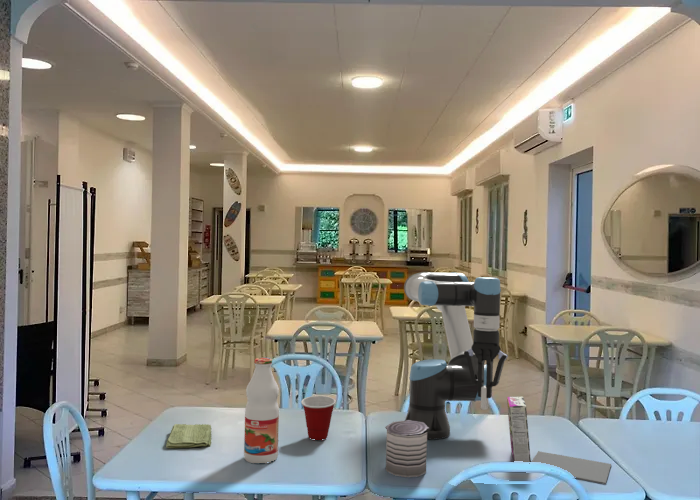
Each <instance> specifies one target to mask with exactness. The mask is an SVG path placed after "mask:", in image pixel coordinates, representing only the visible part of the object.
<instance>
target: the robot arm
mask: <svg viewBox="0 0 700 500" xmlns="http://www.w3.org/2000/svg"><path fill="white" fill-rule="evenodd" d="M403 290H404V293H405V295H406V297H407V298H408V299H410V300H411V301H414V302H419V304H420V305H422V306H429V307H432V306H433V307H434V306H435V307H436V308H437V310H438V311H440V312H441V316H442V320H443V325H444V330H445V335H446V342H447V345H448V351H449V354H450V359H449V360H448V363H447V362H446V360H445V359H438V358H437V359H436V358H432V359H424V360H423V359H422V360H418V361H416V362H413V364H411V367H410V371H409V399H408V400H409V405H408V410H407V413H406V415H405V419H404V421H405V420H412V421H418V422H424V423H425V424H426V425H427V426H428V427H429V428H428V429H427V440H441V439H445V438H448V437H449V436H450V435H451V426H450V422H449V420H448V415H447V412H446V402H447V401H448V402H479V401H480V409H481V410H484V411H486V410H488V409H489V399H491V398H492V397H493V395H492V394H493V387H496V386H498V385H499V383H500V379H501V377H502V373H503V368H504V364H505V361H507V359H508V358H509V355H508V354H507V353H505V352H503V351H501V347H500V331H499V329H500V324H501V323H500V314H501V311H500V310H501V307H500V306H501V292H502V288H501V280H500V278H497V277H487V276H485V277H484V276H479V277H476V278H475V279H474V281H469V279H468V276H466V275H465V274H464V273H462V272H456V271H451V272H438V271H437V272H436V271H435V272H434V271H433V272H432V271H421V272H418V273H414V274H412V275H409V277H408V278H406V280H405V282H404V285H403ZM466 307H473V328H474V329H473V334H472V333H471V328H470V325H469V324H470V323H469V319H468V315H467V311H466ZM472 336H473V337H472ZM497 356H498V357H497ZM496 357H497V359H498V361H497V364H496V365H497V366H496V369H495V373H494V370H493V369H494V360H495V359H496ZM485 362H486V364H485ZM493 374H494V375H493ZM493 376H494V377H493Z"/></svg>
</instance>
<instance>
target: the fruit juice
mask: <svg viewBox="0 0 700 500" xmlns="http://www.w3.org/2000/svg"><path fill="white" fill-rule="evenodd" d="M253 364H254V367H255V368H254V371H253V374H252V377H251V379H250V381H249V382H248V384H247V386H246V388H245V389H246V390H245V395H246V398H247V402H246V405H245V410H244V438H243V439H244V440H243V441H244V443H243V445H244V447H243V449H244V450H243V458H244V460H245V461H246V462H248V463H250V464H254V463H265V464H268V463H267V462H270V463H272V462H271V461H273V462H275V461H276V460H277V458H278V455H279V423H280V422H279V418H280V409H279V403H278V397H279V393H280V389H279V385H278V383H277V381H276V379H275V377H274V375H273V371H272V370H273V369H272V365H273V360H272V358H271V357H256V358H255V359H254V361H253ZM274 460H275V461H274Z"/></svg>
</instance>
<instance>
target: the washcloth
mask: <svg viewBox="0 0 700 500" xmlns="http://www.w3.org/2000/svg"><path fill="white" fill-rule="evenodd" d="M169 433H170V434H169V436H168V438H167V441H166V442H165V443H166V445H165V447H166V449H183V448H184V449H186V448H187V449H188V448H202V447H203V448H204V447H206V448H207V447H211V445H212V425H211V424H206V423H204V424H203V423H202V424H199V423H198V424H197V423H196V424H187V423H185V424H183V423H175V424H174V425H172V428H171V430H170V432H169Z"/></svg>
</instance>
